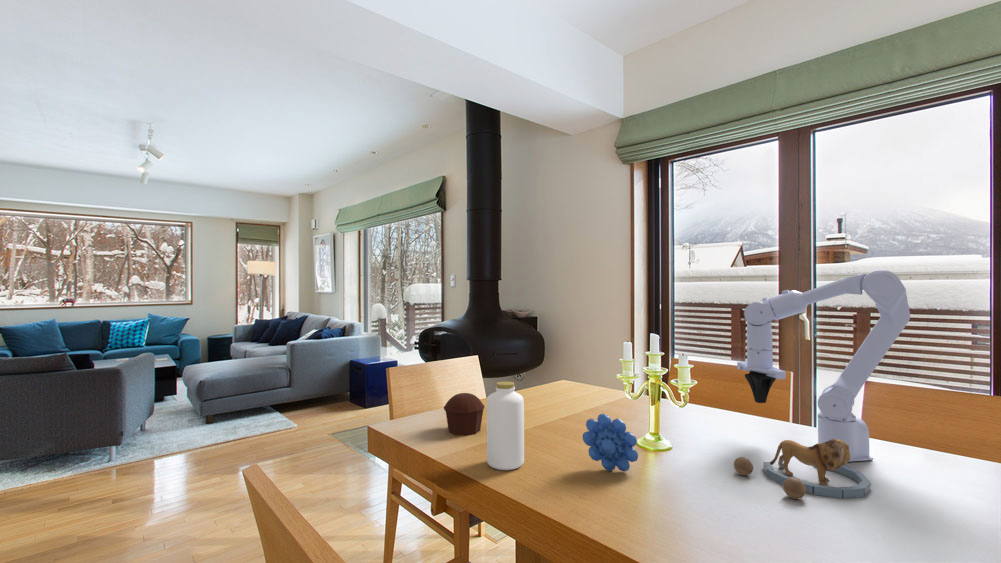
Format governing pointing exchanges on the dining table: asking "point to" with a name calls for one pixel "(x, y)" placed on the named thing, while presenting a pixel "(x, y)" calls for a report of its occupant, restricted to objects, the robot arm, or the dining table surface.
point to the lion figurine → (814, 456)
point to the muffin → (464, 414)
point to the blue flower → (610, 443)
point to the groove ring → (829, 491)
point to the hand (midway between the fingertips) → (760, 402)
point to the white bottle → (505, 427)
